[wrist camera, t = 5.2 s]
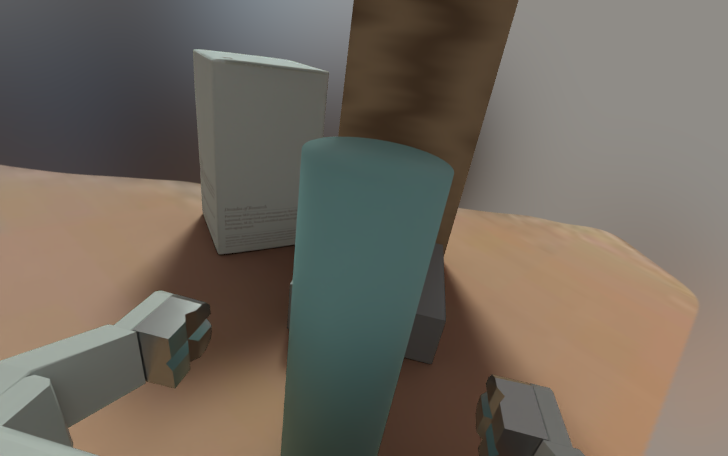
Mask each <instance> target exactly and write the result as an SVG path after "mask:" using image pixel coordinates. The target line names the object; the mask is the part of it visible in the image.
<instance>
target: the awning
mask: <svg viewBox="0 0 728 456" xmlns="http://www.w3.org/2000/svg"><path fill="white" fill-rule="evenodd" d="M517 3H518V0H354V4H353V13H352V22H351V31H350V39H349V48H348V56H347V65H346V74H345V83H344V92H343V101H342V109H341V118H340V127H339V136H338V137H360V138H370V139H377V140H383V141H389V142H393V143H398V144H402V145H406V146H410V147H413V148H416V149H419V150H422V151H425V152H428V153H430V154H432V155H435V156H437V157H439V158H440V159H442V160H444V161H445V162H447V163H448V164H449V165H450V166H451V167H452V168H453V170H454V176H453V180H452V184H451V187H450V191H449V195H448V198H447V202H446V206H445V209H444V213H443V217H442V220H441V224H440V228H439V231H438V235H437V239H436V242H435V243H437V244H442V245H443V257H444V254H445V250H446V247H447V244H448V240H449V237H450V233H451V230H452V226H453V223H454V220H455V216H456V213H457V209H458V206H459V202H460V199H461V196H462V192H463V189H464V185H465V182H466V178H467V175H468V171H469V168H470V165H471V161H472V158H473V154H474V151H475V147H476V144H477V141H478V137H479V134H480V130H481V127H482V123H483V120H484V117H485V113H486V110H487V106H488V103H489V99H490V96H491V93H492V89H493V86H494V82H495V79H496V76H497V72H498V68H499V65H500V62H501V58H502V55H503V51H504V48H505V44H506V41H507V38H508V34H509V31H510V27H511V23H512V21H513V17H514V13H515V10H516V7H517Z"/></svg>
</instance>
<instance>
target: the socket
mask: <svg viewBox="0 0 728 456" xmlns="http://www.w3.org/2000/svg"><path fill="white" fill-rule="evenodd" d="M292 283H293V280H292V282H291V283H290V293H289V308H288V323H287V328H288V329H289V327H290V313H291V298H292ZM445 322H446V311H445V284H444V257H443V245H442V244H437V243H435V246H434V250H433V253H432V257H431V261H430V264H429V268H428V272H427V275H426V279H425V283H424V286H423V290H422V293H421V297H420V301H419V304H418V308H417V312H416V315H415V319H414V323H413V326H412V330H411V334H410V337H409V341H408V345H407V348H406V352H405V356H404V357H405V358H409V359H413V360H417V361H421V362H425V363H429V364H432V362H433V359H434V356H435V353H436V350H437V346H438V343H439V340H440V337H441V334H442V331H443V328H444V325H445Z"/></svg>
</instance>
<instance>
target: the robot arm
mask: <svg viewBox="0 0 728 456" xmlns="http://www.w3.org/2000/svg"><path fill="white" fill-rule="evenodd" d="M210 314H211V311H210V305H209V304H208V303H206V302H202V301H198V300H195V299H191V298H188V297H184V296H181V295H177V294H172V293H169V292H165V291H161V290H160V291H156V292H154V293H153V294H151V295H150V296H149V297H148V298H146V299H145V300H144V301H143V302H142V303H140V304H139V305H138V306H137V307H135V308H134V309H133V310H132V311H131V312H129V313H128V314H127V315H126V316H124V317H123V318H122V319H121V320H120V321H118V322H117V323H116V324H115V325H109V324H108V325H105V326H102V327H99V328H96V329H93V330H90V331H87V332H84V333H81V334H78V335H75V336H72V337H69V338H66V339H63V340H60V341H57V342H55V343H52V344H49V345H46V346H43V347H40V348H37V349H34V350H31V351H28V352H25V353H22V354H19V355H16V356H13V357H10V358H7V359H4V360H1V361H0V456H98V455H95V454H92V453H89V452H85V451H82V450H79V449H76V448H73V441H72V438H71V436H70V433H69V430H68V428H69V427H71V426H72V425H74V424H76V423H77V422H79V421H81V420H83V419H84V418H86V417H88V416H90V415H91V414H93V413H95V412H97V411H98V410H100V409H102V408H104V407H105V406H107V405H109V404H110V403H112V402H114V401H116V400H117V399H119V398H121V397H123V396H124V395H126V394H128V393H130V392H131V391H133V390H135V389H137V388H138V387H140V386H142V385H143V384H145V383H146V382H150V383H154V384H159V385H163V386H167V387H171V388H176V387H177V385H178V384H179V383H180V382H181V380H182V379H183V378H184V377H185V375H186V374H187V373H188V372H189V370H190V362H191V361H193V360H195V359H197V358H200V357H201V355H202V354H203V353H204V351H205V350H206V348H207V346H208V344H209V342H210V339H211V333H212V326H211V324H210V323H209V321H208V320H207V318H208V316H209V315H210ZM486 389H487V392H486V393H484V394H482V395H481V396H480V398H479V401H478V403H477V409H476V432H477V433H478V435H479V436H480V437H481V439H482V441H481V443H480V445H479V447H478V452H479V456H585V455H584V454H583V453H582V452H581V451H580V450H579V449H576V448H573V447H572V444H571V441H570V438H569V435H568V433H567V430H566V427H565V424H564V421H563V419H562V416H561V413H560V410H559V407H558V405H557V402H556V399H555V396H554V393H553V391H552V390H551V389H550V388H547V387H543V386H539V385H535V384H529V383H526V382H522V381H518V380H514V379H509V378H505V377H501V376H497V375H493V374H492V375H491V376H490V377H489V378H488V380H487V382H486Z"/></svg>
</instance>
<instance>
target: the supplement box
mask: <svg viewBox="0 0 728 456" xmlns="http://www.w3.org/2000/svg"><path fill="white" fill-rule="evenodd" d="M193 57H194V82H195V96H196V112H197V127H198V143H199V158H200V172H201V192H202V210H203V214H204V218H205V220H206V223H207V226H208V228H209V231H210V234H211V236H212V239H213V242H214V244H215V247H216V249H217V253H218V254H229V253H237V252H244V251H252V250H260V249H267V248H275V247H282V246H289V245H295V239H296V225H297V210H298V195H299V181H300V166H301V152H302V146H303V145H304V144H305V143H306V142H308V141H311V140H314V139H318V138H323V132H324V120H325V110H326V99H327V88H328V78H329V72H327V71H324V70H320V69H317V68H313V67H310V66H307V65H304V64H300V63H297V62H294V61H290V60H284V59H277V58H269V57H261V56H253V55H244V54H237V53H228V52H219V51H209V50H199V49H195V50H193Z"/></svg>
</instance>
